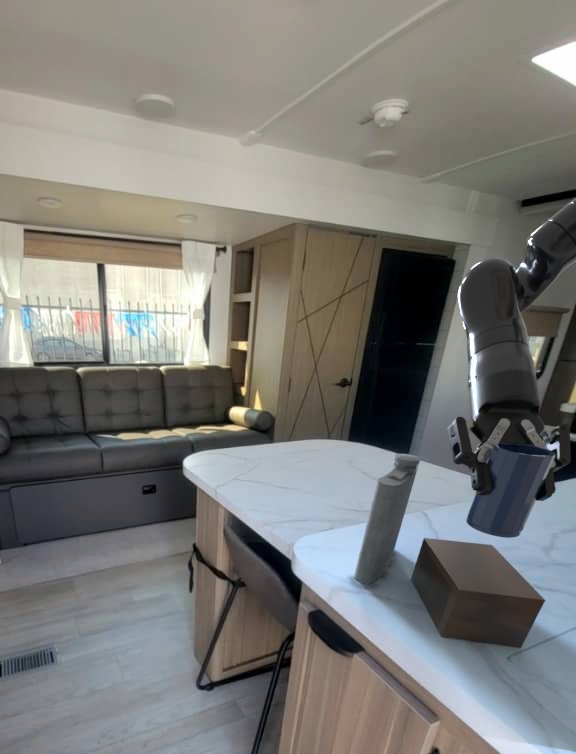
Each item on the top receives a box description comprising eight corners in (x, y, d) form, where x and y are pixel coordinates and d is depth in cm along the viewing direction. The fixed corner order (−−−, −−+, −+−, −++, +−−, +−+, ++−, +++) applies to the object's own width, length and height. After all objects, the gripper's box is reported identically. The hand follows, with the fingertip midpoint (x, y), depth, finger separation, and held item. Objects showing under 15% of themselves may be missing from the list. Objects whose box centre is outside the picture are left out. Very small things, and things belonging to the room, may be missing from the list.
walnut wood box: (475, 586, 67) (492, 544, 63) (521, 648, 54) (545, 600, 51) (410, 579, 68) (423, 537, 65) (441, 637, 56) (459, 589, 52)
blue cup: (505, 518, 57) (537, 443, 53) (530, 540, 52) (567, 458, 47) (458, 514, 58) (485, 439, 53) (477, 534, 53) (509, 454, 48)
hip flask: (377, 542, 79) (403, 442, 71) (399, 549, 77) (429, 447, 68) (351, 578, 68) (379, 465, 59) (376, 588, 66) (409, 472, 57)
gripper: (459, 364, 54) (468, 478, 49) (580, 370, 52) (603, 490, 47) (433, 398, 61) (439, 501, 56) (539, 404, 59) (555, 511, 54)
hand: (513, 495), depth 51 cm, fingers closed on blue cup, 6 cm apart
